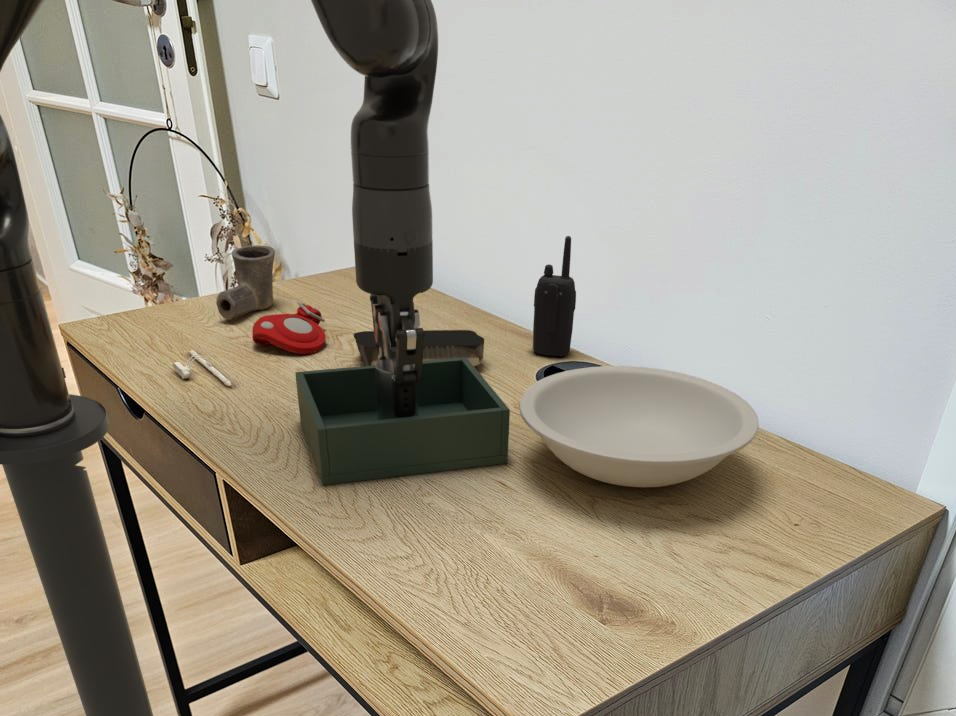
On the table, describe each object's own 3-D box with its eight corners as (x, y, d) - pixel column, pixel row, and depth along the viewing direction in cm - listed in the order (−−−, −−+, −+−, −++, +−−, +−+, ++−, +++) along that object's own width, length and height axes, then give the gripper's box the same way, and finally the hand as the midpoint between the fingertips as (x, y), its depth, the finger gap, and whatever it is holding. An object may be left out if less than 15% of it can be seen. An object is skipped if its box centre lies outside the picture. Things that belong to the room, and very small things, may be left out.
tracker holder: (332, 346, 117) (255, 332, 114) (326, 374, 120) (251, 362, 117) (326, 298, 125) (254, 283, 121) (321, 326, 128) (250, 313, 125)
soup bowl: (548, 533, 82) (554, 469, 78) (495, 427, 101) (497, 370, 97) (786, 514, 86) (803, 451, 82) (692, 415, 105) (702, 360, 101)
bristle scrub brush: (359, 377, 112) (357, 348, 110) (356, 353, 119) (355, 326, 116) (486, 373, 114) (487, 345, 112) (477, 350, 121) (477, 323, 119)
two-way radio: (573, 351, 121) (583, 234, 112) (567, 362, 118) (577, 242, 109) (533, 347, 122) (540, 230, 113) (527, 358, 119) (533, 239, 110)
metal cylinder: (382, 429, 93) (380, 374, 90) (373, 413, 96) (371, 359, 93) (422, 425, 94) (422, 370, 91) (412, 409, 98) (411, 356, 94)
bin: (322, 485, 89) (317, 429, 85) (300, 423, 100) (295, 371, 97) (507, 463, 94) (510, 409, 90) (465, 406, 105) (466, 356, 102)
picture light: (233, 387, 108) (231, 370, 107) (199, 394, 106) (196, 377, 105) (193, 353, 117) (190, 337, 116) (161, 359, 115) (157, 343, 114)
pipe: (210, 321, 128) (201, 263, 123) (255, 297, 138) (248, 242, 133) (248, 327, 126) (240, 268, 122) (290, 301, 136) (284, 246, 131)
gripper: (340, 220, 89) (351, 385, 99) (369, 257, 78) (378, 438, 88) (413, 217, 90) (416, 379, 101) (451, 252, 80) (451, 430, 90)
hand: (399, 406), depth 94 cm, fingers closed on metal cylinder, 4 cm apart
